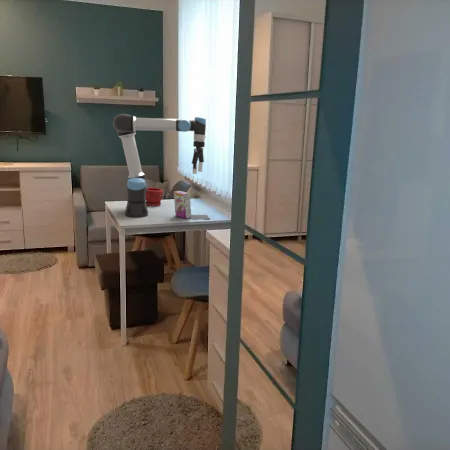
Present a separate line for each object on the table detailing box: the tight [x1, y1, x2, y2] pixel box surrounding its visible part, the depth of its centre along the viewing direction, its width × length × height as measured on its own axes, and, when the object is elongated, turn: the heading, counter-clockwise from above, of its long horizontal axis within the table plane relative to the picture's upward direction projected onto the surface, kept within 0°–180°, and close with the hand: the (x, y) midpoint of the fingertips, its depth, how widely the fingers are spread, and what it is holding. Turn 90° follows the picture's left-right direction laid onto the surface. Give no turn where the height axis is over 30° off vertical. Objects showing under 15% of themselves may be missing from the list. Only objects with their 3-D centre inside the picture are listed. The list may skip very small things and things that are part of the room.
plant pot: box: [146, 187, 164, 207], centre depth 318 cm, size 13×13×12 cm
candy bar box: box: [173, 190, 192, 220], centre depth 284 cm, size 11×5×16 cm, turn 44°
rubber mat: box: [189, 214, 211, 220], centre depth 288 cm, size 13×12×1 cm
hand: (197, 172), depth 296 cm, fingers open, 13 cm apart
